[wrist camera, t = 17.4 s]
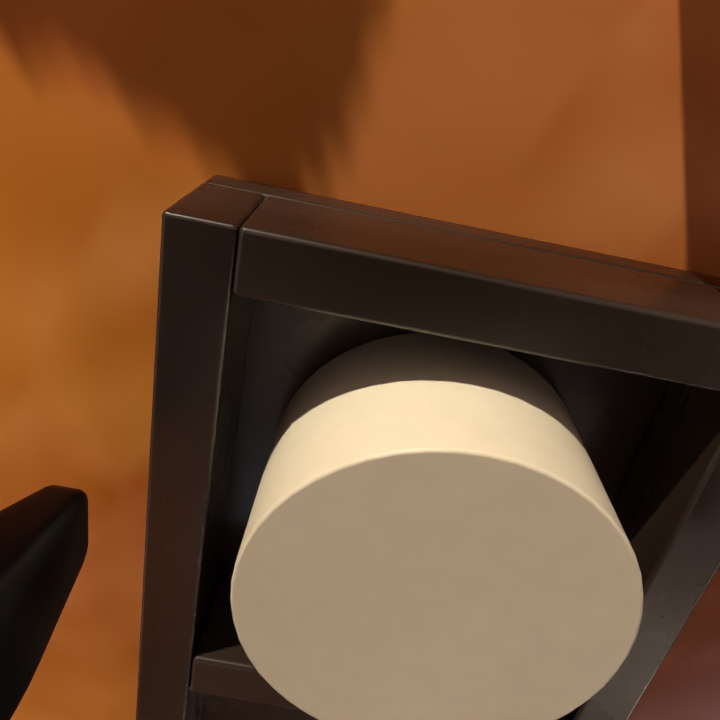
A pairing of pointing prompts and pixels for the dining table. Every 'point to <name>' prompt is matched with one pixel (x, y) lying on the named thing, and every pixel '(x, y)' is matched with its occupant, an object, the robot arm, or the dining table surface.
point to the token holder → (385, 319)
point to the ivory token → (433, 544)
